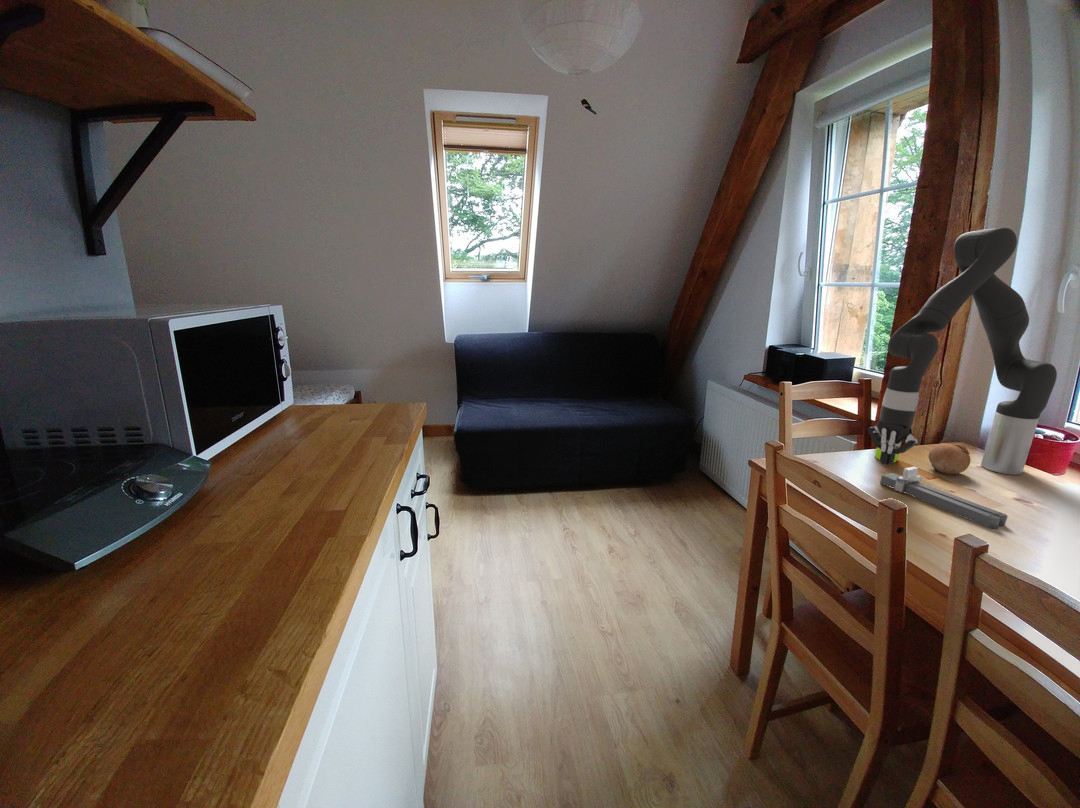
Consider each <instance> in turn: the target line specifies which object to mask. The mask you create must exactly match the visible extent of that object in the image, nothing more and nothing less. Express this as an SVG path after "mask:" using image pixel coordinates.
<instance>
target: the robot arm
mask: <svg viewBox="0 0 1080 808" xmlns="http://www.w3.org/2000/svg"><path fill="white" fill-rule="evenodd" d="M1017 242H1018V238H1017V234H1016V233H1015V231H1014V230H1012V228H1008V227H994V228H987V229H986V228H985V229H979V230H973V231H968V232H967V231H966V232H964V233H962V234H961V235H959V236H958V237H957V238H956V240H955V241H954V245H953V258H954V260H955V262H956V265H957V267H958V269H959V271H960V273H961V274H959V275H958V276H956V277H954V278H952V280H950V281H949V282H947V283H946V284H944V285H943V286H941V287H940V288H939V289H937V290H936V291H935V292H934V293H933V294H932V295H931V296H929V298H928V299H927V300H926V302H925V303H924V305H923V306H922V307H921V309H920V310H919V311H918V313H916V315H914V316H913V317H911V319H909V320H908V321H907V322H906V323H904V324H903V325H901V327H899V328H897V330H896V331H894V333H893V334H892V335H891V336H890V338H889V340H888V344H887V349H888V352H889V354H890V355H892V356H894V357H897V358H903V359H907V360H908V359H909V360H910V362H909V363H908V365H907V366H905V365H904V366H902V365H901V366H895V367H893V368H892V369H891V370H890V372H889V377H888V381H887V385H886V389H885V392H884V395H883V399H882V404H881V409H880V412H879V421H878V422H877V423H876V425H874V426H869V427H868V428H867V432H868V434H869V436H870V438H871V441H872V442H873V444H874V446H875V447H876V448H877V447H878V448H880V449H881V451H882V452H881V457H880V460H879V462H880V464H881V465H883V466H886V467H888V466H891V465H893V463H895V462H894V458H895V454H903V453H905V452H908V451H909V450H910V449H912V448H913V447H915V446H916V445H918V444H920V440H919V439H917V438H915V437H914V436H913V431H912V426H913V425H914V420H915V416H916V411H917V408H918V402H919V397H920V395H919V394H920V388H921V384H922V381H923V377H924V375H925V373H926V371H927V370H928V368H929V366H930V364H931V363H932V361H933V360H934V358H935V357H936V354H937V352H938V351H939V346H940V345H939V340H938V338H937V337H936V336H935V334H934V335H933V334H931V333H938V332H941V331H942V330H944V329H945V328H947V326H948V325H949V323H950V322H951V321H952V320H953V318H954V316H956V314H957V313H958V311H959V310H960V308H961V307H962V306H963V305H964V304H965V302H966V301H968V299H969V298H970V297H971V296H972V298H973V301H974V303H975V306H976V308H977V311H978V315H979V319H980V321H981V323H982V324H981V325H982V326H983V329H984V331H985V333H986V334H985V335H986V337H987V340H988V344H989V346H990V350H991V354H992V357H993V363H994V367H995V373H996V377H997V380H998V383H999V384H1000V385H1001V386H1002V387H1004V389H1005V388H1006V389H1008V390H1012V391H1016V392H1019V394H1018V396H1017V398H1016V399H1015V400H1006V401H1000V402H999V403H997V406H996V409H995V412H994V415H993V419H992V423H991V428H990V430H989V433H988V438H987V441H986V445H985V448H984V453H983V456H982V459H981V462H980V465H981V467H982V468H984V469H986V470H989V471H993V472H995V473H1000V474H1004V475H1011V476H1012V475H1013V476H1020V475H1022V474H1023V472H1024V468H1025V465H1026V462H1027V459H1028V456H1029V452H1030V449H1031V446H1032V443H1033V439H1034V437H1035V433H1036V430H1037V426H1038V422H1039V419H1040V417H1041V414H1042V412H1043V411H1044V410H1045V408H1046V407H1047V405H1048V403H1049V399H1050V397H1051V394H1052V392H1053V390H1054V387H1055V384H1056V381H1057V377H1058V376H1057V375H1058V373H1057V369H1056V367H1055V366H1054V365H1053V364H1051V363H1049V362H1044V361H1038V360H1034V359H1033V360H1031V359H1027V358H1025V357H1024V355H1023V353H1022V351H1021V350H1022V349H1021V346H1020V342H1021V339H1022V337H1023V335H1024V334H1025V332H1026V330H1027V329H1028V326H1029V323H1030V316H1029V313H1028V309H1027V306H1026V303H1025V300H1024V299H1023V297H1022V296H1021V295H1020V294H1019V293H1018V292H1017V290H1015V289H1014V288H1012V287H1011V286H1010V285H1008V284H1007V283H1006V282H1004V281H1003V280H1002V279H1001V278H1000V277H998V276H997V275H996V272H997V271H998V270H999V269H1000V268H1002V266H1003V265H1004V264H1006V262H1007V261H1008V260H1009V259H1010V258H1011V257H1012V255H1013V254H1014V252H1015V250H1016V247H1017V244H1018V243H1017ZM880 434H881V435H880ZM881 436H882V437H881ZM903 441H904V444H903V445H902V442H903ZM900 445H901V446H900ZM899 446H900V447H899Z"/></svg>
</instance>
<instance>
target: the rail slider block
mask: <svg viewBox="0 0 1080 808" xmlns="http://www.w3.org/2000/svg"><path fill="white" fill-rule="evenodd" d="M918 471H919V467H916V466H910V467H905V468H903V473H902V475H900V476H901V477H897V479H896V484H895V488H894V489H893V490H894V491H896V492H898V491H899V493H901V492H904V489H905V485H906V484H908V483H912V482H919V483H921V479H922V475H918Z"/></svg>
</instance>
